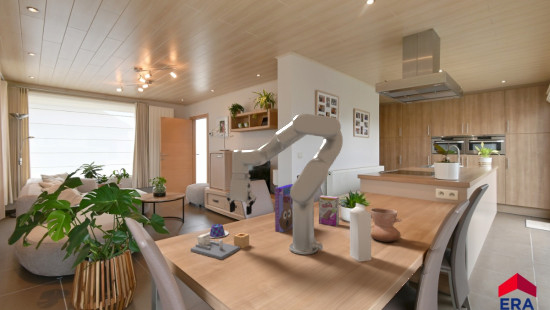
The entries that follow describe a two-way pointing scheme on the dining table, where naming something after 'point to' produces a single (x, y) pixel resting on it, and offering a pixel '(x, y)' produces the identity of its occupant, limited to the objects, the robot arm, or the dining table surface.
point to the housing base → (216, 249)
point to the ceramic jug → (384, 225)
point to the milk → (360, 233)
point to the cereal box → (283, 208)
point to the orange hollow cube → (241, 240)
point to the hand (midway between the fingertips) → (240, 213)
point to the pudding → (217, 231)
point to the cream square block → (204, 239)
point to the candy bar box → (329, 210)
